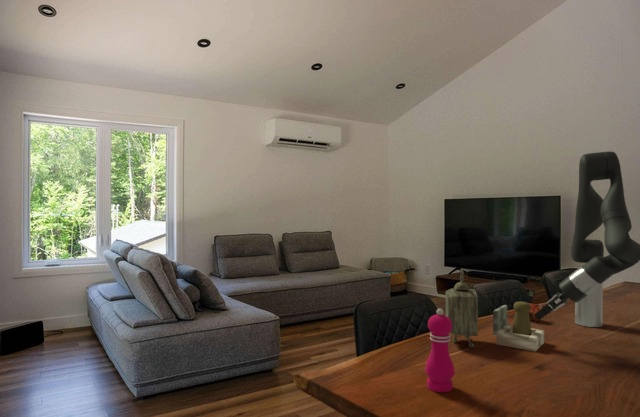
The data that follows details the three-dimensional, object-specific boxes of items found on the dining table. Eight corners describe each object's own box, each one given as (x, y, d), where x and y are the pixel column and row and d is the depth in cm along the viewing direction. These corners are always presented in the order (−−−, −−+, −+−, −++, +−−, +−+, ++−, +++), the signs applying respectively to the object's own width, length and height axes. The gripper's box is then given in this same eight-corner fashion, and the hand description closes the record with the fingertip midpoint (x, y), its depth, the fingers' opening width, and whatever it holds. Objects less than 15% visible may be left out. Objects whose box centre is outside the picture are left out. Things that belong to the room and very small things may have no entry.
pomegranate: (533, 329, 177) (551, 313, 178) (521, 314, 177) (539, 298, 178) (522, 326, 184) (539, 310, 185) (511, 312, 184) (528, 296, 186)
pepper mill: (421, 382, 117) (421, 305, 117) (448, 381, 118) (448, 305, 117) (430, 393, 110) (430, 312, 110) (459, 392, 110) (459, 311, 110)
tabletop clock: (477, 350, 143) (478, 272, 143) (448, 348, 145) (448, 271, 145) (471, 337, 157) (472, 266, 157) (445, 336, 159) (445, 265, 159)
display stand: (503, 335, 160) (503, 304, 160) (544, 342, 152) (544, 310, 152) (493, 343, 150) (493, 310, 150) (535, 351, 142) (535, 316, 142)
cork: (534, 337, 147) (534, 304, 147) (514, 336, 148) (514, 303, 148) (529, 332, 153) (529, 300, 153) (510, 331, 154) (510, 299, 154)
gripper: (574, 272, 147) (536, 302, 154) (565, 277, 136) (524, 309, 143) (593, 290, 144) (553, 320, 151) (585, 297, 133) (542, 329, 140)
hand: (539, 315), depth 147 cm, fingers open, 8 cm apart
